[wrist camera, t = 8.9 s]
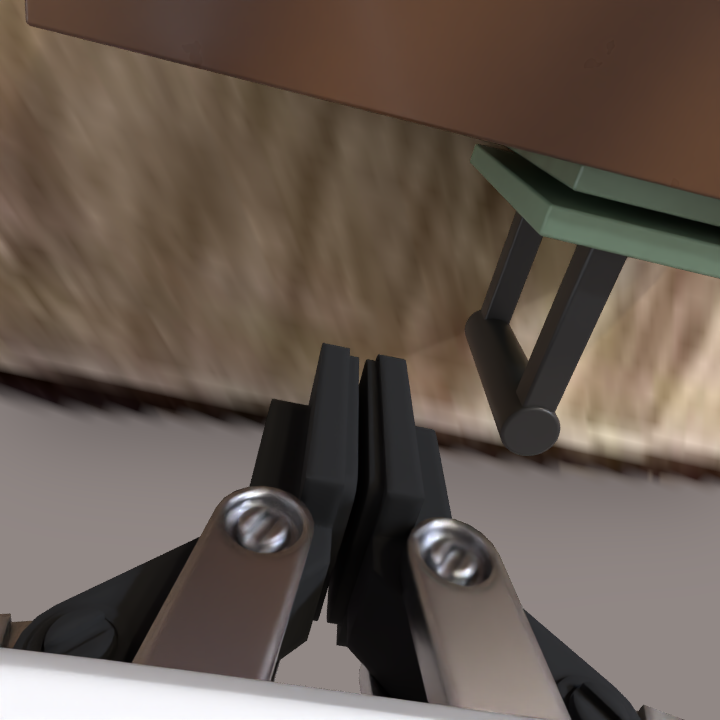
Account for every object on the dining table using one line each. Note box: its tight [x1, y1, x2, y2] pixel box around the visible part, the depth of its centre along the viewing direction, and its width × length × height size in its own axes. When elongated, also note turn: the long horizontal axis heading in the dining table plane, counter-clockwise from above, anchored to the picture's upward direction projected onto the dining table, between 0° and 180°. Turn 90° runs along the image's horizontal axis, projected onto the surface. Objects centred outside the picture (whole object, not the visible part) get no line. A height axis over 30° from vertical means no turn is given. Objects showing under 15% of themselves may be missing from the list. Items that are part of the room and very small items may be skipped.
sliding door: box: [465, 144, 720, 456], centre depth 16 cm, size 9×6×8 cm, turn 77°
